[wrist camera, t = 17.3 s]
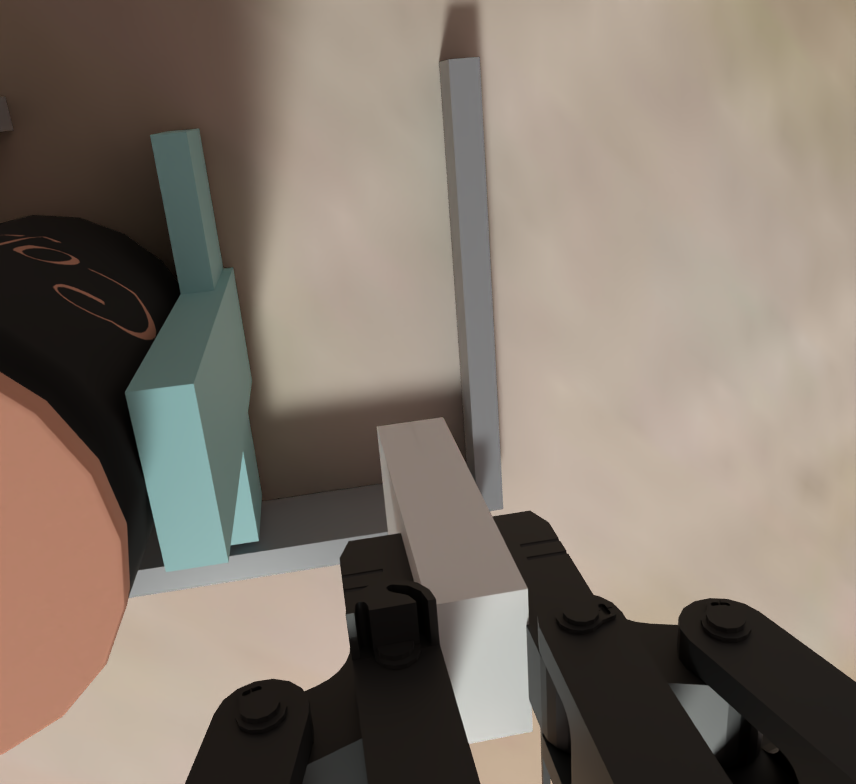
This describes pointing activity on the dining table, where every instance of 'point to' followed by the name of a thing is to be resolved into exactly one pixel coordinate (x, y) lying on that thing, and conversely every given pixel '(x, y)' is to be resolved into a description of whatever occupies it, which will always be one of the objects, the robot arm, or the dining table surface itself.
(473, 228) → the grey piece
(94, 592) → the coffee jar
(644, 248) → the dining table surface
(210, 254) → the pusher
